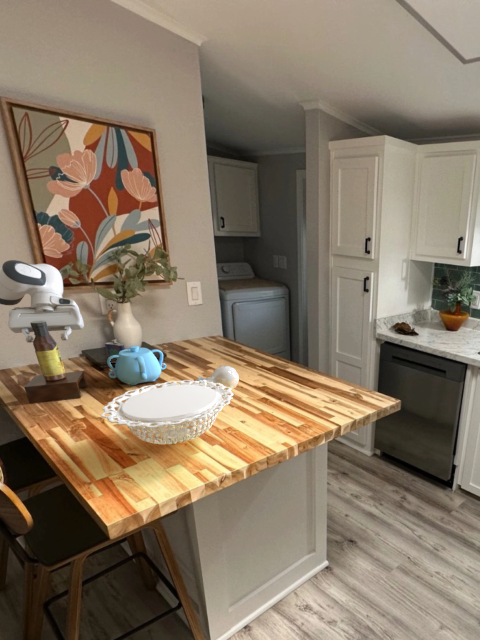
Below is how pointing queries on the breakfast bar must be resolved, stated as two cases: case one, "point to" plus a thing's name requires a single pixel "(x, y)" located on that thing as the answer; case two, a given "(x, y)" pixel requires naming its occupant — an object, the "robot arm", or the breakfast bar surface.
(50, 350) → the sauce bottle
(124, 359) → the decorative pot
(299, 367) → the breakfast bar surface
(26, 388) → the shelf
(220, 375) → the potion bottle
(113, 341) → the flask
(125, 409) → the white lattice bowl
